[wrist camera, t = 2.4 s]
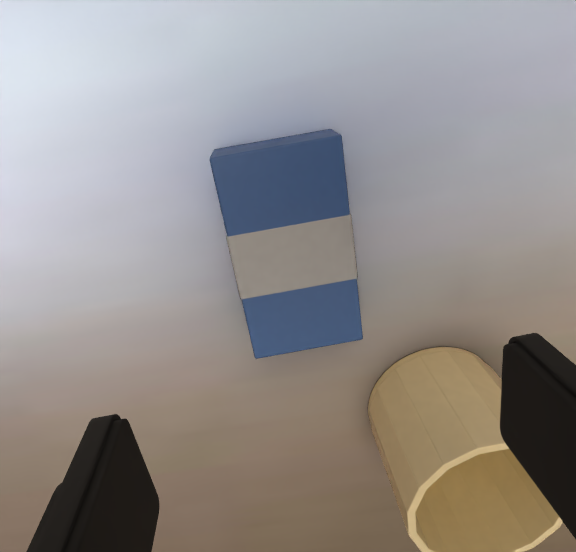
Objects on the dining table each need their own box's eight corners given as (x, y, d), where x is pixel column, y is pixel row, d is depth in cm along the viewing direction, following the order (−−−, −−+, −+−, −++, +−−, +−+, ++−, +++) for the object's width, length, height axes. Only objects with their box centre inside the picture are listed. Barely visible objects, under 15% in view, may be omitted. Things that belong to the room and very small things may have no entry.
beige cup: (362, 360, 26) (403, 461, 19) (497, 335, 26) (587, 427, 19) (373, 460, 29) (411, 578, 22) (493, 438, 29) (568, 548, 22)
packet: (212, 149, 20) (207, 158, 18) (332, 128, 20) (343, 134, 18) (253, 334, 24) (254, 359, 22) (353, 316, 25) (364, 339, 22)
